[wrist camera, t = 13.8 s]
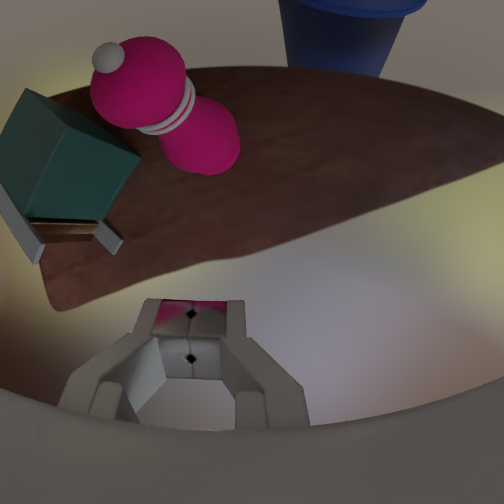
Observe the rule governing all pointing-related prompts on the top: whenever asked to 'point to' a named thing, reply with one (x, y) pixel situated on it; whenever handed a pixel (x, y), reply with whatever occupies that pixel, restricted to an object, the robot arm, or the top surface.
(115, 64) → the pepper mill
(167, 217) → the top surface
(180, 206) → the top surface
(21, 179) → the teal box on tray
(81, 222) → the sliding door
